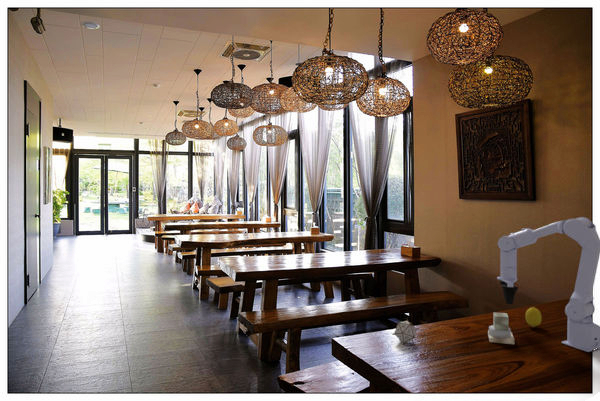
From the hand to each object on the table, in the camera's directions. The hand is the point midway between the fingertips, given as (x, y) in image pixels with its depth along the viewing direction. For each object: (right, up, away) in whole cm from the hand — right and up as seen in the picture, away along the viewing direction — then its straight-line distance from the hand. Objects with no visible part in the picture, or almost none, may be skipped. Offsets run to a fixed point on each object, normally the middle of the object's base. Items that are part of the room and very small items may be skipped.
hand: (508, 301), depth 173 cm
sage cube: (-8, -7, -12) cm, 16 cm away
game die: (-43, -12, -13) cm, 47 cm away
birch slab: (-8, -12, -12) cm, 19 cm away
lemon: (+10, -10, +1) cm, 14 cm away
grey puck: (-9, -10, -12) cm, 17 cm away
